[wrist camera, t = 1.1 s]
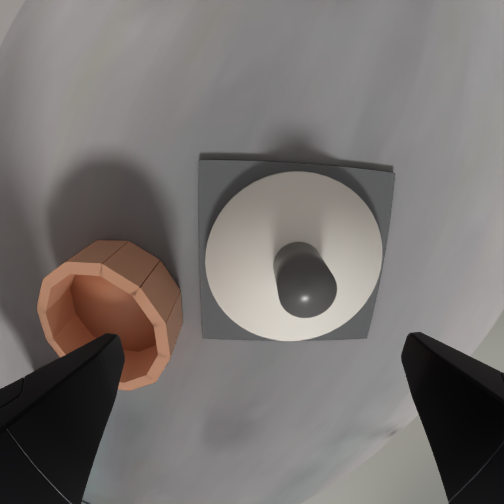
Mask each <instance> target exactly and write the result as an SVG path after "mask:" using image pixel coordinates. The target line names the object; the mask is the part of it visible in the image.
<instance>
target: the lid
mask: <svg viewBox="0 0 504 504" xmlns="http://www.w3.org/2000/svg"><path fill="white" fill-rule="evenodd" d="M381 264H382V241H381V235H380V231H379V228H378V225H377V222H376V220H375V218H374V216H373V214H372V212H371V211H370V209H369V208H368V206H367V205H366V204H365V202H364V201H363V200H362V199H361V198H360V197H359V196H358V195H357V194H356V193H355V192H354V191H352V190H351V189H350V188H348V187H347V186H345V185H344V184H342V183H341V182H338V181H336V180H334V179H332V178H330V177H327V176H324V175H320V174H317V173H311V172H304V171H289V172H282V173H276V174H273V175H269V176H266V177H264V178H261V179H259V180H257V181H254V182H253V183H251V184H249V185H248V186H246V187H245V188H243V189H242V190H241V191H239V192H238V193H237V194H236V195H235V196H234V197H233V198H232V199H231V200H230V201H229V202H228V203H227V204H226V205H225V207H224V208H223V209H222V211H221V212H220V214H219V215H218V217H217V219H216V221H215V223H214V225H213V227H212V230H211V232H210V235H209V238H208V242H207V247H206V256H205V266H206V275H207V279H208V283H209V286H210V289H211V292H212V294H213V296H214V298H215V300H216V301H217V303H218V305H219V306H220V307H221V309H222V310H223V311H224V313H225V314H226V315H227V316H228V317H229V318H230V319H231V320H233V321H234V322H235V323H236V324H238V325H239V326H240V327H242V328H244V329H246V330H247V331H249V332H251V333H253V334H256V335H258V336H261V337H265V338H268V339H273V340H279V341H300V340H306V339H311V338H315V337H318V336H321V335H324V334H326V333H329V332H331V331H333V330H335V329H336V328H338V327H340V326H341V325H343V324H344V323H346V322H347V321H348V320H350V319H351V318H352V317H353V316H354V315H355V314H356V313H357V312H358V311H359V310H360V309H361V308H362V307H363V306H364V304H365V303H366V301H367V300H368V298H369V297H370V295H371V293H372V292H373V290H374V288H375V285H376V283H377V280H378V278H379V274H380V270H381Z"/></svg>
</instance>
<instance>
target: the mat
mask: <svg viewBox="0 0 504 504" xmlns="http://www.w3.org/2000/svg"><path fill="white" fill-rule="evenodd" d="M289 171H304V172H311V173H317V174H320V175H324V176H327V177H330V178H332V179H334V180H336V181H338V182H341V183H342V184H344V185H345V186H347V187H348V188H350V189H351V190H352V191H354V192H355V193H356V194H357V195H358V196H359V197H360V198H361V199H362V200H363V201H364V202H365V204H366V205H367V206H368V208H369V209H370V211H371V212H372V214H373V216H374V218H375V220H376V222H377V225H378V228H379V231H380V235H381V241H382V264H381V270H380V274H379V278H378V280H377V283H376V285H375V288H374V290H373V292H372V293H371V295H370V297H369V298H368V300H367V301H366V303H365V304H364V306H363V307H362V308H361V309H360V310H359V311H358V312H357V313H356V314H355V315H354V316H353V317H352V318H351V319H350V320H348V321H347V322H346V323H344V324H343V325H341V326H340V327H338V328H336V329H335V330H333V331H331V332H329V333H326V334H324V335H321V336H318V337H315V338H311V339H306V340H344V339H365V338H367V335H368V331H369V327H370V323H371V319H372V315H373V311H374V306H375V302H376V297H377V292H378V288H379V283H380V278H381V272H382V267H383V262H384V256H385V250H386V244H387V237H388V231H389V224H390V216H391V208H392V200H393V190H394V180H395V173H392V172H385V171H377V170H369V169H360V168H351V167H341V166H330V165H318V164H305V163H290V162H271V161H244V160H199V262H200V293H201V316H202V335H203V338H208V339H230V340H268V341H279V340H273V339H268V338H265V337H261V336H258V335H256V334H253V333H251V332H249V331H247V330H246V329H244V328H242V327H240V326H239V325H238V324H236V323H235V322H234V321H233V320H231V319H230V318H229V317H228V316H227V315H226V314H225V313H224V311H223V310H222V309H221V307H220V306H219V305H218V303H217V301H216V300H215V298H214V296H213V294H212V292H211V289H210V286H209V283H208V279H207V275H206V266H205V256H206V247H207V242H208V238H209V235H210V232H211V230H212V227H213V225H214V223H215V221H216V219H217V217H218V215H219V214H220V212H221V211H222V209H223V208H224V207H225V205H226V204H227V203H228V202H229V201H230V200H231V199H232V198H233V197H234V196H235V195H236V194H237V193H238V192H239V191H241V190H242V189H243V188H245V187H246V186H248V185H249V184H251V183H253V182H254V181H257V180H259V179H261V178H264V177H266V176H269V175H273V174H276V173H282V172H289ZM306 340H300V341H306Z"/></svg>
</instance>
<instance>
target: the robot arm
mask: <svg viewBox="0 0 504 504" xmlns="http://www.w3.org/2000/svg"><path fill="white" fill-rule="evenodd" d="M401 360H402V364H403V367H404V370H405V374H406V377H407V381H408V384H409V388H410V391H411V395H412V398H413V400H414V403H415V406H416V408H417V411H418V413H419V416H420V419H421V421H422V424H423V427H424V429H425V432H426V435H427V437H428V440H429V443H430V446H431V449H432V452H433V455H434V457H435V460H436V463H437V466H438V470H439V472H440V476H441V479H442V482H443V486H444V489H445V492H446V496H447V499H448V502H449V504H504V373H502V372H500V371H498V370H496V369H494V368H492V367H490V366H488V365H486V364H484V363H482V362H480V361H478V360H476V359H474V358H472V357H470V356H468V355H466V354H464V353H462V352H460V351H458V350H456V349H454V348H452V347H450V346H448V345H446V344H444V343H442V342H440V341H438V340H436V339H433V338H431V337H429V336H427V335H425V334H423V333H421V332H414V333H409V334H408V336H407V338H406V341H405V344H404V348H403V351H402V355H401ZM124 363H125V355H124V351H123V347H122V343H121V339H120V337H119V335H118V334H112V333H105V334H104V335H102V336H100V337H98V338H96V339H94V340H92V341H90V342H89V343H87V344H85V345H83V346H81V347H79V348H77V349H75V350H74V351H72V352H70V353H68V354H66V355H64V356H62V357H60V358H59V359H57V360H55V361H53V362H51V363H49V364H47V365H45V366H44V367H42V368H40V369H38V370H36V371H34V372H32V373H30V374H29V375H27V376H25V377H24V378H21V379H19V380H17V381H15V382H13V383H11V384H9V385H7V386H5V387H3V388H1V389H0V504H81V501H82V498H83V494H84V491H85V488H86V484H87V481H88V478H89V475H90V471H91V468H92V465H93V462H94V459H95V456H96V453H97V450H98V447H99V444H100V441H101V438H102V435H103V432H104V430H105V427H106V424H107V421H108V418H109V416H110V413H111V410H112V407H113V404H114V402H115V398H116V394H117V390H118V386H119V382H120V378H121V374H122V371H123V367H124Z"/></svg>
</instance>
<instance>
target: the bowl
mask: <svg viewBox="0 0 504 504" xmlns="http://www.w3.org/2000/svg"><path fill="white" fill-rule="evenodd" d="M37 311H38V314H39V318H40V321H41V325H42V328H43V331H44V334H45V337H46V339H47V341H48V343H49V344H50V345H51V346H52V348H53V349H54V350H55V352H56V353H57V354H58V355H59V357H62V356H64V355H66V354H68V353H70V352H72V351H74V350H75V349H77V348H79V347H81V346H83V345H85V344H87V343H89V342H90V341H92V340H94V339H96V338H98V337H100V336H102V335H104V334H105V333H112V334H118V335H119V337H120V339H121V343H122V347H123V351H124V355H125V363H124V367H123V371H122V374H121V378H120V382H119V386H118V389H120V390H126V391H130V390H133V389H136V388H140V387H143V386H146V385H149V384H152V383H155V382H156V381H157V379H158V378H159V376H160V374H161V373H162V371H163V370H164V368H165V366H166V365H167V363H168V362H169V360H170V358H171V355H172V352H173V349H174V346H175V344H176V341H177V338H178V335H179V332H180V329H181V327H182V324H183V315H182V302H181V291H180V289H179V287H178V286H177V284H176V283H175V281H174V280H173V278H172V277H171V275H170V274H169V272H168V271H167V269H166V268H165V266H164V264H163V263H162V261H160V259H158V258H157V257H155V256H153V255H152V254H150V253H148V252H147V251H145V250H143V249H142V248H140V247H138V246H137V245H135V244H133V243H132V242H130V241H129V242H128V241H115V240H97V241H95V242H93V243H92V244H90V245H89V246H87V247H86V248H84V249H83V250H81V251H80V252H79V253H77V254H76V255H74V256H73V257H71V258H70V259H69V260H67V261H66V262H65V263H63V264H62V265H61V266H59V267H58V268H57V269H55V270H54V271H53V272H51V273H50V274H49V275H48V276H46V277H45V278H44V279H43V281H42V285H41V289H40V294H39V299H38V304H37Z"/></svg>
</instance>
